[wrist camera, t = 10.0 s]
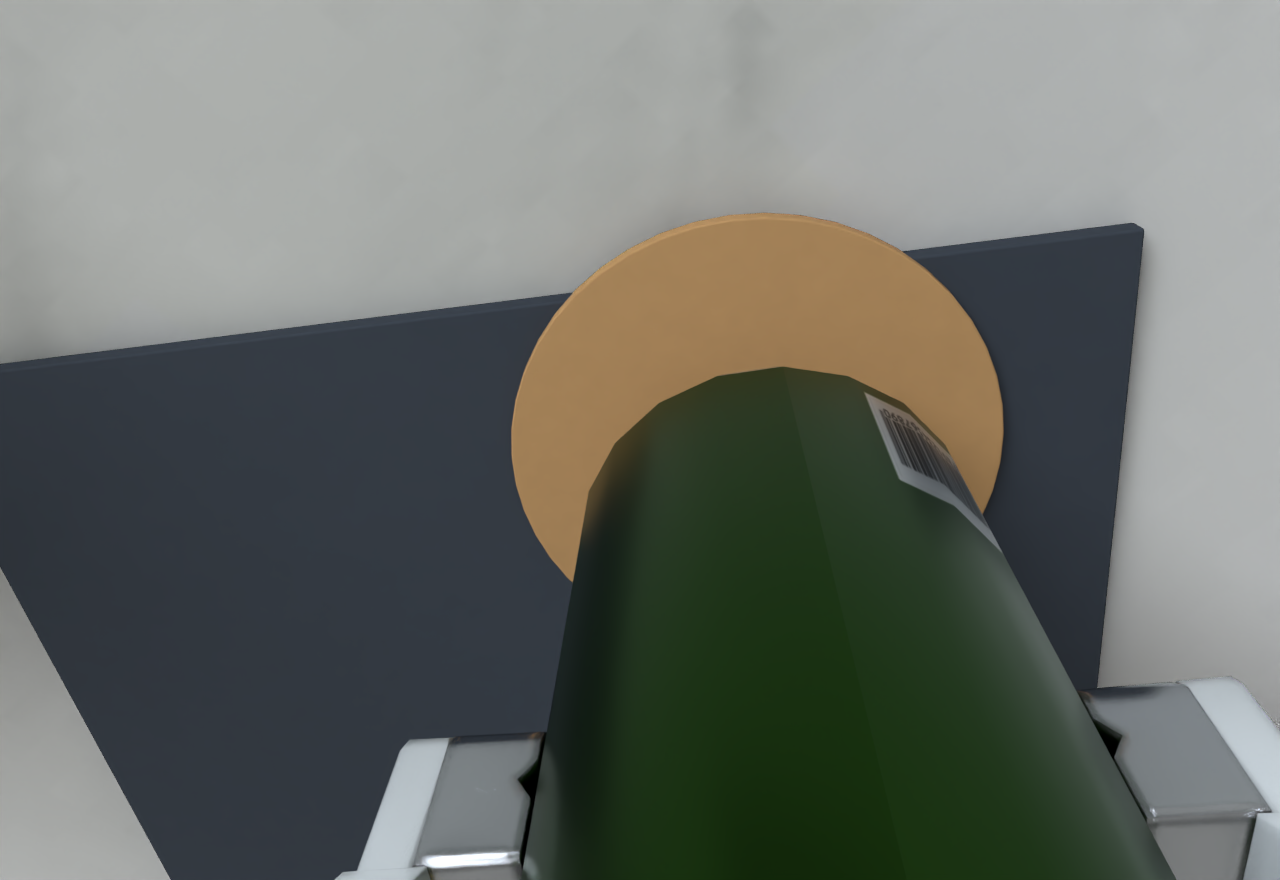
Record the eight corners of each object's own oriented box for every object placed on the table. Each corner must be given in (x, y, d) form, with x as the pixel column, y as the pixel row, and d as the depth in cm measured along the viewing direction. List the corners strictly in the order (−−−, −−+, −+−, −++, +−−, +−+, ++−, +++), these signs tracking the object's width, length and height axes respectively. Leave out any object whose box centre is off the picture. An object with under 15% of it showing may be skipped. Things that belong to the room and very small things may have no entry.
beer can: (735, 267, 12) (1106, 2494, 2) (1035, 481, 13) (2381, 2506, 3) (518, 546, 14) (41, 2279, 4) (794, 708, 16) (1037, 2345, 5)
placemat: (1140, 153, 14) (1163, 162, 13) (1058, 999, 23) (1068, 1028, 22) (-114, 319, 16) (-147, 333, 15) (269, 1035, 25) (258, 1063, 24)
